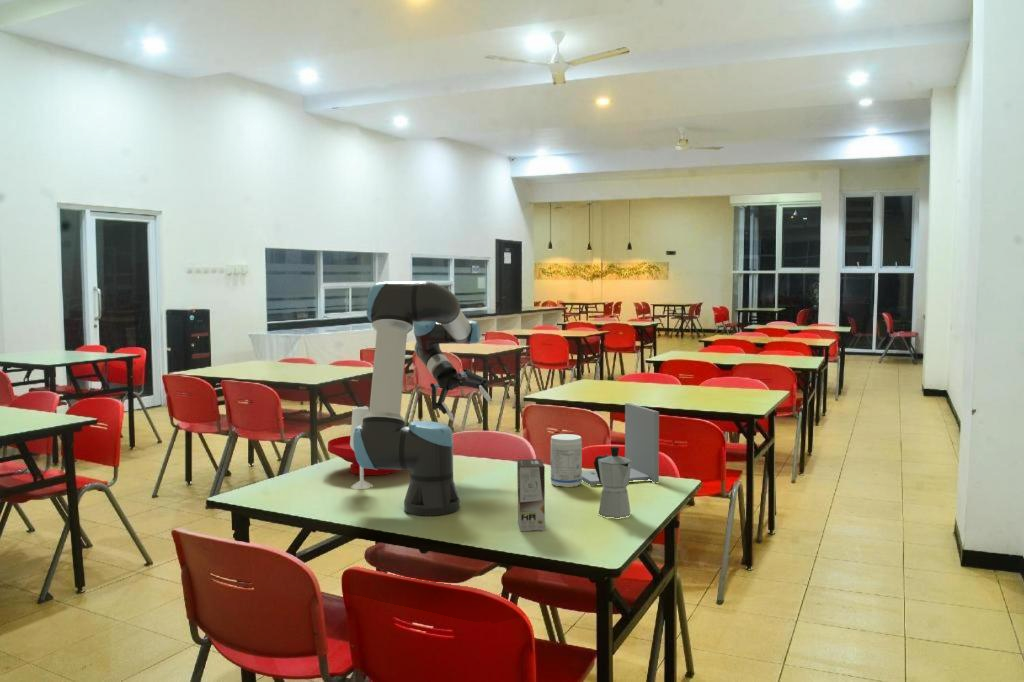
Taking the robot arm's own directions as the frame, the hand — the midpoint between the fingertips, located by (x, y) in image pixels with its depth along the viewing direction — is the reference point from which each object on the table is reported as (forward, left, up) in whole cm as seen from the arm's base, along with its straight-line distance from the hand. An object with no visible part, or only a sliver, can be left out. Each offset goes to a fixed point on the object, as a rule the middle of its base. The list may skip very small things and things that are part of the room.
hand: (471, 408), depth 249 cm
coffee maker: (-55, -23, -22) cm, 64 cm away
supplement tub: (-21, -24, -22) cm, 39 cm away
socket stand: (-19, -41, -21) cm, 50 cm away
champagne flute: (-3, +35, -22) cm, 42 cm away
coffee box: (-58, 0, -22) cm, 62 cm away
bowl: (+18, +28, -22) cm, 40 cm away
